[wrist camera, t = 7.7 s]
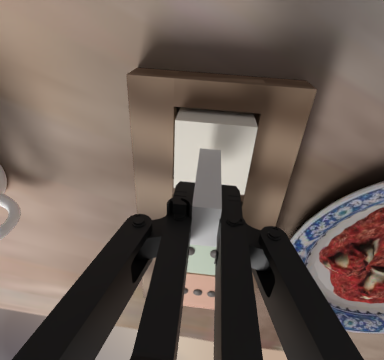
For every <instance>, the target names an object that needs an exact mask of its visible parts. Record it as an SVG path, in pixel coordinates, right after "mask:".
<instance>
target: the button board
mask: <svg viewBox="0 0 384 360" xmlns="http://www.w3.org/2000/svg"><path fill="white" fill-rule="evenodd" d="M127 87H128V101H129V114H130V127H131V140H132V153H133V167H134V180H135V193H136V206H137V214H145V215H147V216H149V217H150V218H151V220H154V219H160V218H163V217H165V216H166V215H167V202H168V200H170V199H171V198H173V196H174V192H175V188H174V147H175V119H176V117H177V115H178V112H179V107H187V108H198V109H210V110H222V111H234V112H246V113H255V114H254V117H255V120H256V123H257V126H258V129H257V134H256V139H255V144H254V149H253V154H252V159H251V164H250V169H249V174H248V179H247V184H246V189H245V194H244V195H240V197H241V206H242V214H243V219H244V220H245V222H246V223H247V224H248V225H249V226H251V227H253V228H255V229H258V230H261V229H262V228H264V227H267V226H274V227H275V226H276V223H277V219H278V216H279V213H280V210H281V206H282V203H283V200H284V196H285V193H286V190H287V187H288V183H289V180H290V177H291V174H292V170H293V167H294V164H295V160H296V157H297V154H298V151H299V147H300V144H301V141H302V138H303V134H304V131H305V128H306V124H307V121H308V118H309V115H310V111H311V108H312V105H313V101H314V98H315V95H316V92H317V89H316V88H315V87H313V86H312V85H311V84H310V83H308V82H307V81H305V80H292V79H279V78H266V77H253V76H240V75H227V74H214V73H201V72H188V71H175V70H162V69H149V68H136V69H134V70H133V71H131V72H130V73H128V74H127ZM155 260H156V258H153V260H152V262H151V264H150V265H149V267H148V269H147V270H146V272H145V274H144V276H143V277H142V285H143V298H146V297H147V293H148V289H149V285H150V281H151V277H152V273H153V268H154V264H155ZM252 275H253V273H252ZM253 283H254V291H256V288H257V283H256V280H255V278H254V275H253Z"/></svg>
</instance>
